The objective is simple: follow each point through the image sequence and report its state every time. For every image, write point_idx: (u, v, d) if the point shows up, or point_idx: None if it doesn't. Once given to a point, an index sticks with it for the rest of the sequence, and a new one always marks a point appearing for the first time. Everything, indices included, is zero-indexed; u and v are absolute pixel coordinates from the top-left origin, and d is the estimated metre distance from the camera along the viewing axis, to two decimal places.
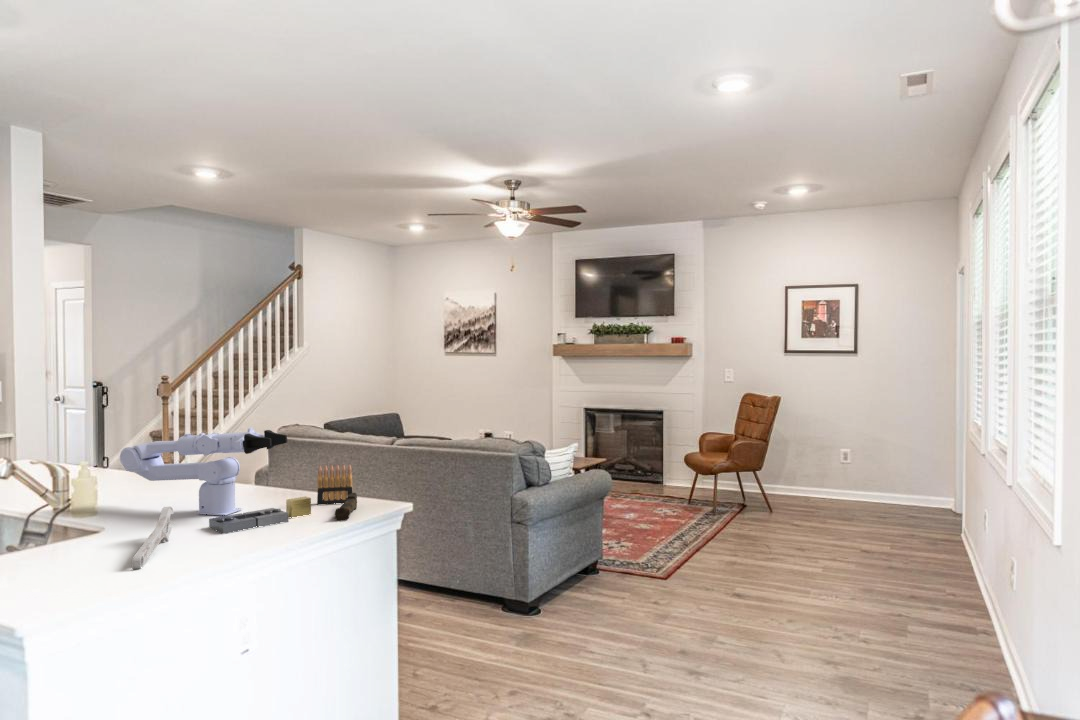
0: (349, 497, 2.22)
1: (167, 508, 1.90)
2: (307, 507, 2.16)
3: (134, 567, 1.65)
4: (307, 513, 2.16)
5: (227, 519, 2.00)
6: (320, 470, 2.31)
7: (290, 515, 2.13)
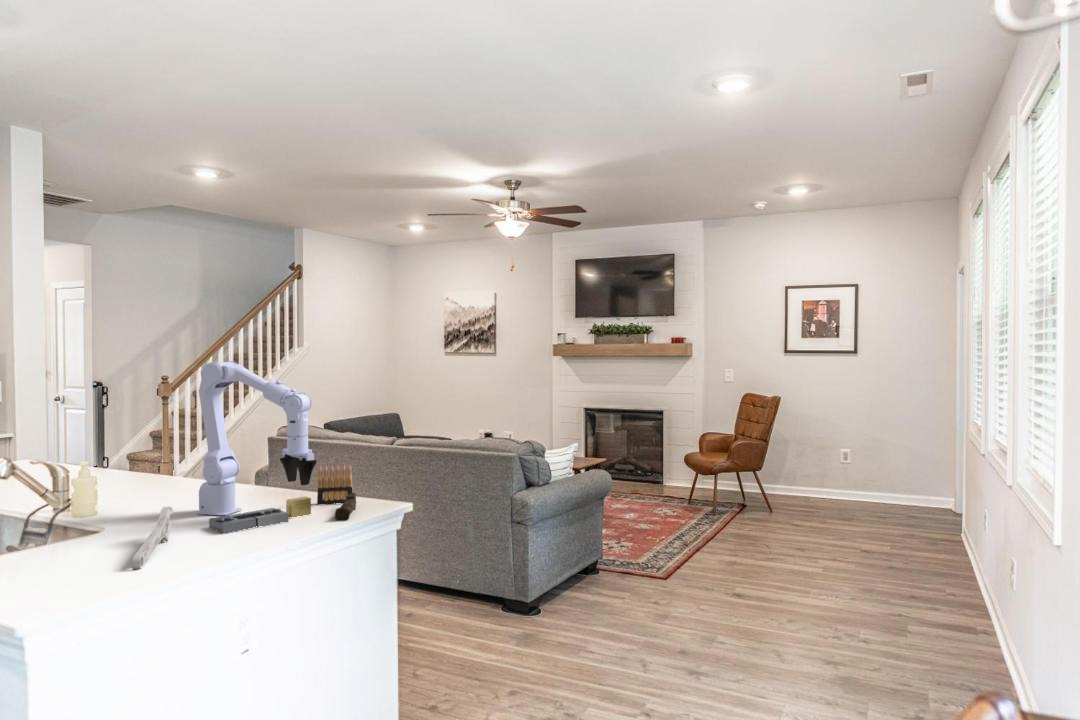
0: (348, 497, 2.22)
1: (167, 508, 1.90)
2: (307, 507, 2.16)
3: (134, 567, 1.65)
4: (307, 513, 2.16)
5: (227, 519, 2.00)
6: (320, 470, 2.31)
7: (290, 515, 2.13)
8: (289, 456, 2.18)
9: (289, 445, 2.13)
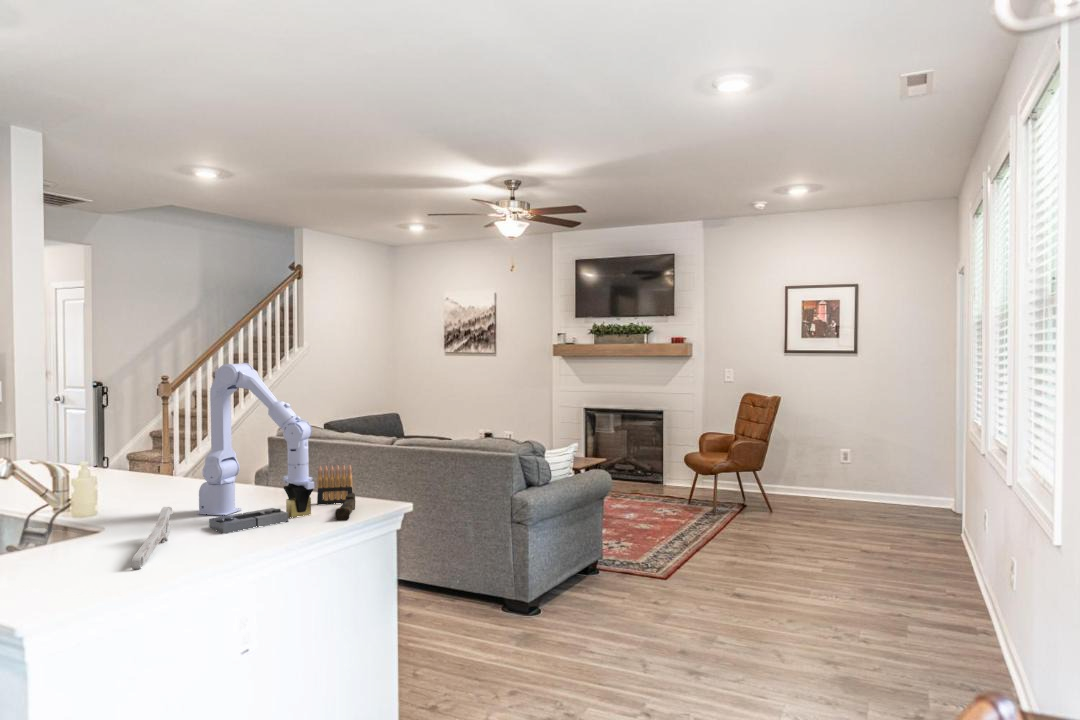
0: (348, 497, 2.22)
1: (166, 508, 1.90)
2: (307, 507, 2.16)
3: (134, 567, 1.65)
4: (307, 513, 2.16)
5: (227, 519, 2.00)
6: (320, 470, 2.31)
7: (290, 515, 2.13)
8: None
9: (289, 473, 2.13)
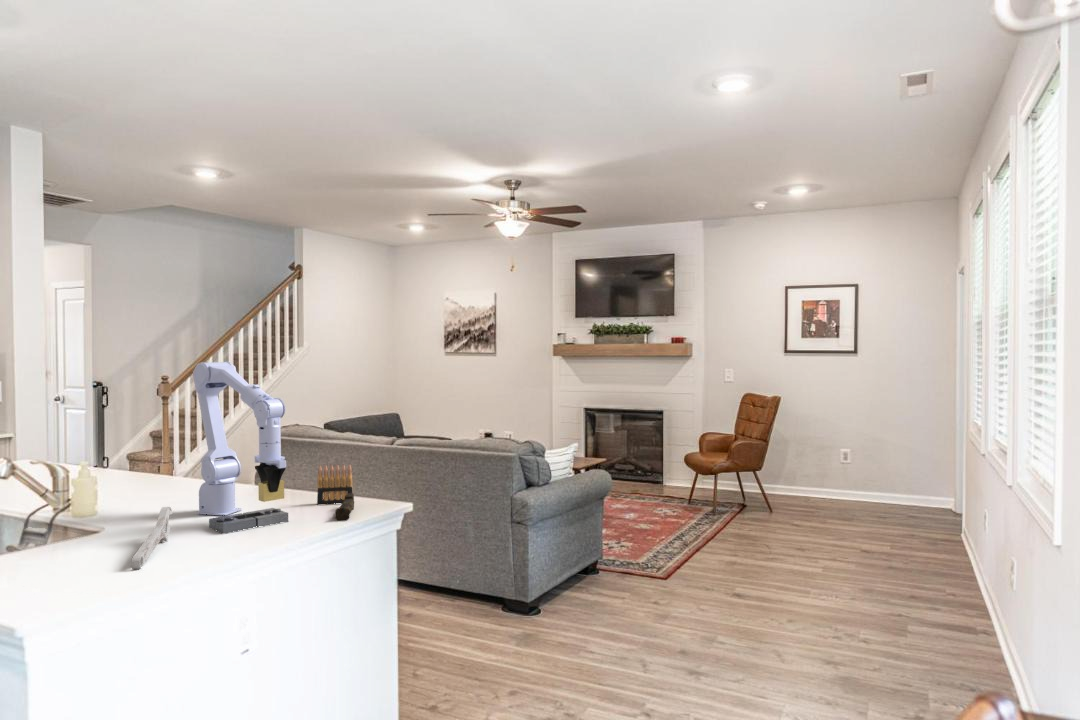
0: (347, 497, 2.22)
1: (166, 508, 1.90)
2: (280, 490, 2.10)
3: (134, 567, 1.65)
4: (280, 496, 2.10)
5: (227, 519, 2.00)
6: (320, 470, 2.31)
7: (263, 498, 2.07)
8: None
9: (261, 452, 2.07)
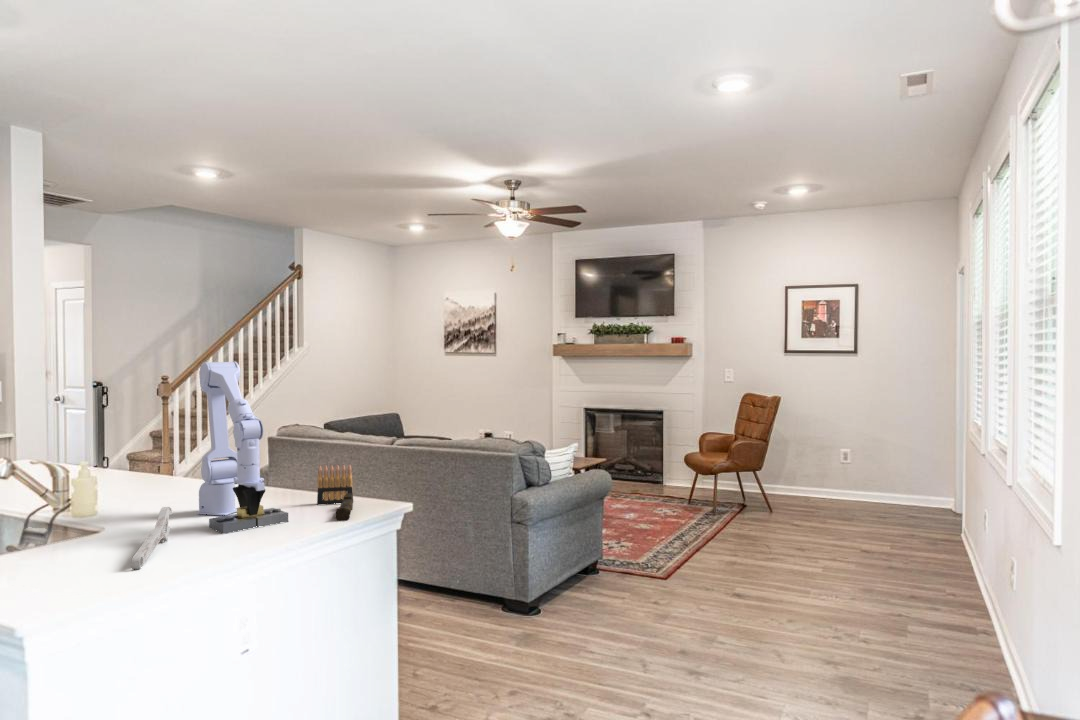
0: (346, 497, 2.22)
1: (166, 508, 1.90)
2: (259, 515, 2.06)
3: (134, 567, 1.65)
4: None
5: (227, 519, 2.00)
6: (320, 470, 2.31)
7: None
8: (240, 485, 2.07)
9: (239, 474, 2.03)
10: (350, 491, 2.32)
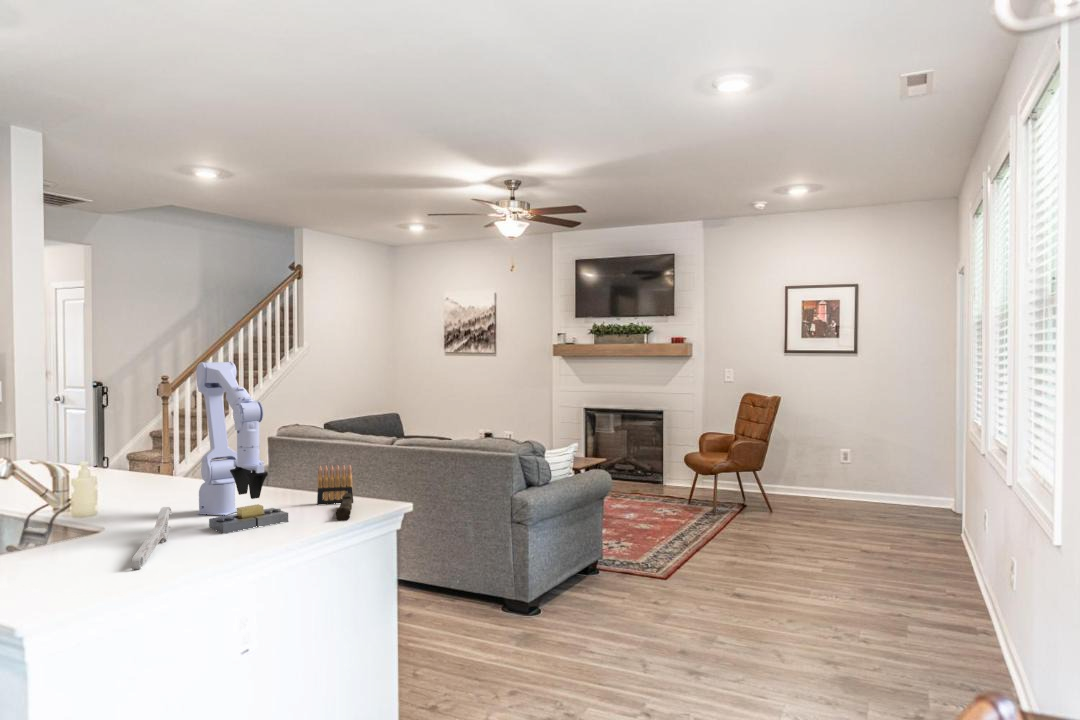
0: (345, 497, 2.22)
1: (165, 508, 1.90)
2: (259, 515, 2.06)
3: (134, 567, 1.65)
4: None
5: (227, 519, 2.00)
6: (320, 470, 2.31)
7: None
8: (240, 468, 2.07)
9: (239, 456, 2.03)
10: (350, 491, 2.32)
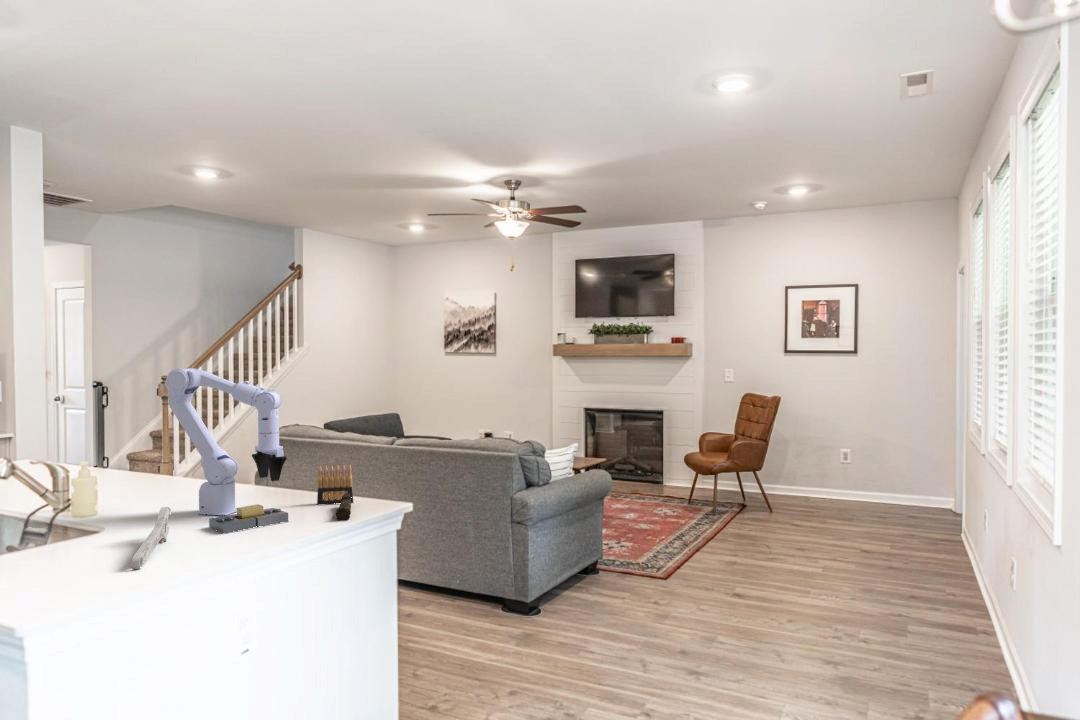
0: (344, 497, 2.22)
1: (165, 508, 1.90)
2: (259, 515, 2.06)
3: (134, 567, 1.65)
4: None
5: (227, 519, 2.00)
6: (320, 470, 2.31)
7: None
8: (261, 452, 2.22)
9: (260, 442, 2.17)
10: (350, 491, 2.32)
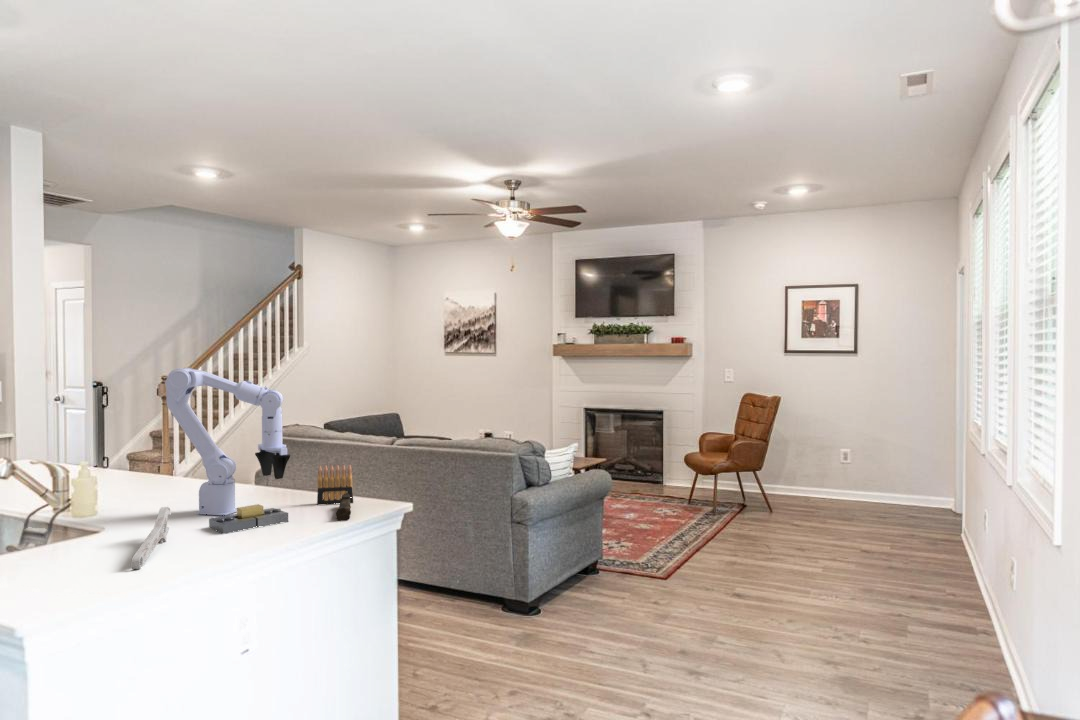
0: (344, 497, 2.22)
1: (164, 508, 1.90)
2: (259, 515, 2.06)
3: (133, 567, 1.65)
4: None
5: (227, 519, 2.00)
6: (320, 470, 2.31)
7: None
8: (264, 451, 2.25)
9: (264, 440, 2.20)
10: (350, 491, 2.32)
